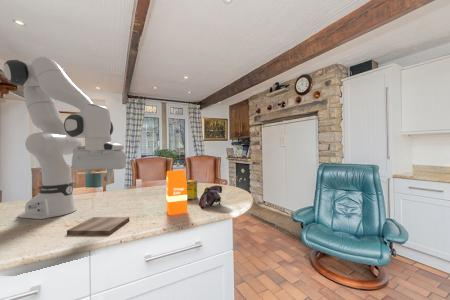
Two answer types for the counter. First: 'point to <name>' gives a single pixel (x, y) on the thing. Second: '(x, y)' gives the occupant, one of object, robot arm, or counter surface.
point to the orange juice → (176, 192)
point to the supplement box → (191, 189)
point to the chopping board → (98, 226)
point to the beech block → (98, 179)
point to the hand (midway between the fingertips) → (99, 180)
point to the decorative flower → (210, 196)
